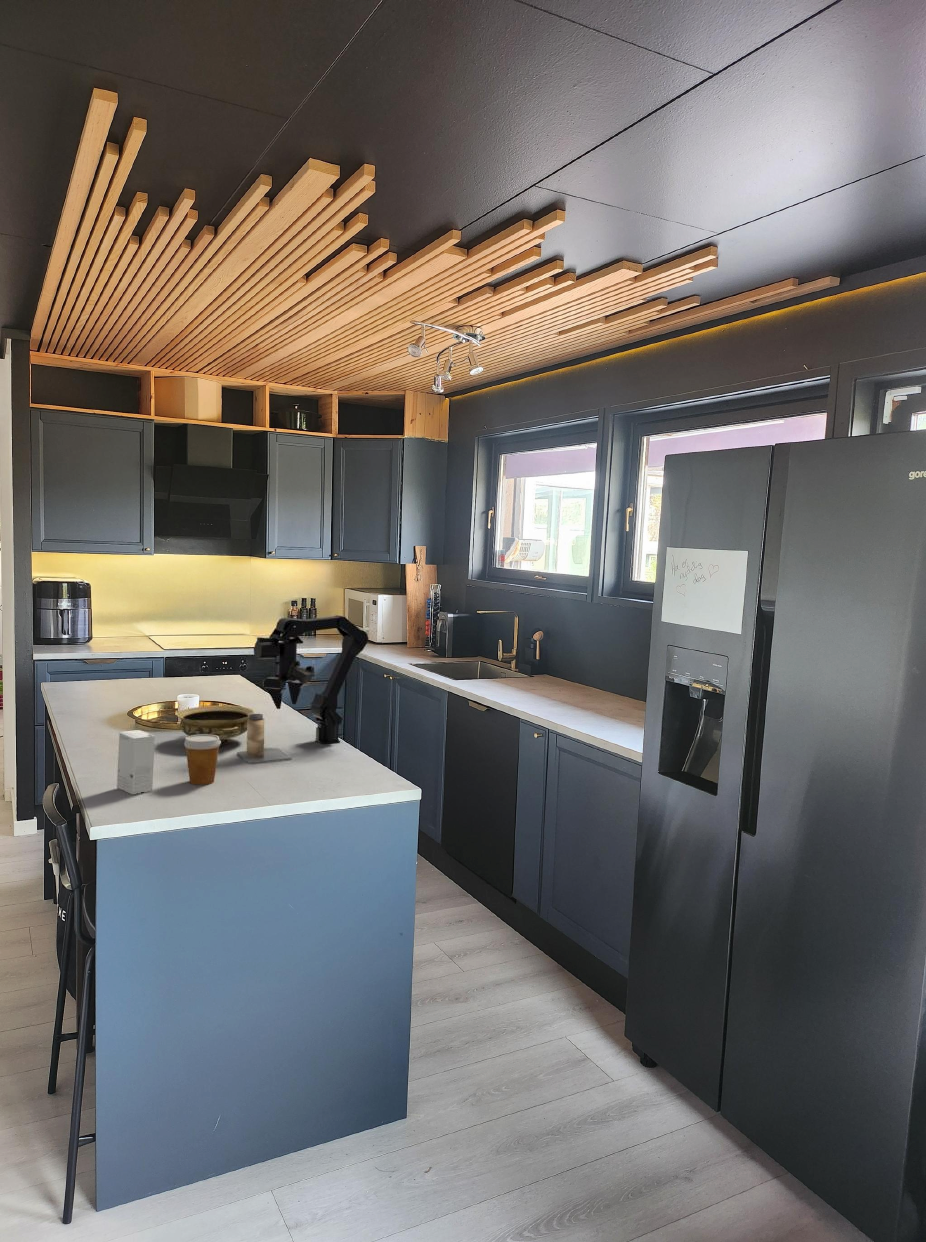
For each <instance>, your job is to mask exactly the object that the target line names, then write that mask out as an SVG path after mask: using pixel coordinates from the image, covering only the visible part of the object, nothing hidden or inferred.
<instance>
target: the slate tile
mask: <svg viewBox="0 0 926 1242" xmlns="http://www.w3.org/2000/svg"><path fill="white" fill-rule="evenodd" d="M236 754H237V756H239V757H240V758H241V759H243V760H244V761H245V762H246V764H248V765H250V764H251V765H252V764H261V763H271V762H282V761H283V762H284V761H292V760H293V757H292V756H290V755H289V754H287V753H286V752H285V751H283V750H282V749H280V748H279V747H277V748H267V749H265V748H264V756H263V757H261V758H249V757H247V750H242V751H236ZM291 759H292V760H291Z"/></svg>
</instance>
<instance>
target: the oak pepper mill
mask: <svg viewBox="0 0 926 1242" xmlns="http://www.w3.org/2000/svg"><path fill="white" fill-rule="evenodd" d="M263 716H264V714H261V713H254V714H250V715H249V719H247V731H246V751H247V757H249V758H261V757H263V756H264V749H265V718H264V717H263Z"/></svg>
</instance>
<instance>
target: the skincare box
mask: <svg viewBox="0 0 926 1242" xmlns="http://www.w3.org/2000/svg"><path fill="white" fill-rule="evenodd" d="M118 733H119V734H118V735H119V738H118V754H117V755H118V757H117V776H116V788H117V789H118V788H119V789H118V790H121V789H122V790H121V791H123V790H124V792H125V793H128V794H129V795H138V794H142V793H141V792H144V793H147V792H146V791H149V792H152V791H153V784H154V765H155V764H154V761H155V744H156V743H155V742H156V741H155V740H156V737H155V735H154V734H153V735H152V734H151V733H148V732H146V731H143V730H140V729H136V730H135V729H134V730H127V731H120V732H118ZM151 790H152V791H151ZM137 793H138V794H137Z"/></svg>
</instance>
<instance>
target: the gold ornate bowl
mask: <svg viewBox="0 0 926 1242" xmlns="http://www.w3.org/2000/svg"><path fill="white" fill-rule="evenodd" d="M250 714H255V711H254V710H253V709H252V708H249V707H245V706H239V705H205V706H196V707H190V708H186V709H183V710H180V711H178V712H177V713H176V716H177V718H178V719H180V723H179V726H180V727H179V728H180V730H181V731H182V733H183V734H185V735H186V736H187V737H188V736H192V735H200V734H209V735H216V736H218V737H219V739H220V741H221V744H220V746H222V745H227V744H229V743H230V741H229V739H234V738H236V737H239V736H241V735H242V734H244V733H247V719H249V715H250Z"/></svg>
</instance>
